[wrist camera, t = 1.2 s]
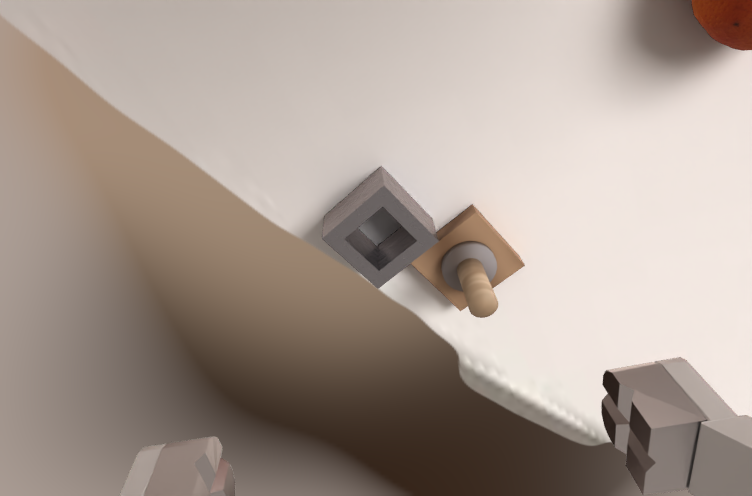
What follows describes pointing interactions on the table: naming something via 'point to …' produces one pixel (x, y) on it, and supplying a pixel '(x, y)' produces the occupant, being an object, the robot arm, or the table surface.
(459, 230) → the post block
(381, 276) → the grey square frame
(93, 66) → the table surface
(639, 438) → the robot arm
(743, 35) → the fruit
